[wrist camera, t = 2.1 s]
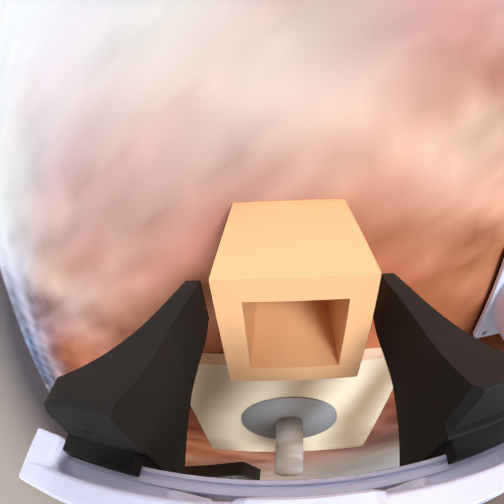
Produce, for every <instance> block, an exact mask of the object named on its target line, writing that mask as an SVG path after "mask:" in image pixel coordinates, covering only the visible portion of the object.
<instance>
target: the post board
mask: <svg viewBox="0 0 504 504" xmlns="http://www.w3.org/2000/svg"><path fill="white" fill-rule="evenodd" d="M392 389H393V385H392V381H391V377H390V373H389V370H388V367H387V364H386V361H385V358H384V355H383V352H382V349H381V347H378V348H368V349H365V350H364V354H363V357H362V361H361V365H360V368H359V372H358V375H357V376H356V377H345V378H333V379H317V380H294V381H231V380H230V376H229V372H228V367H227V363H226V359H225V354H220V353H202V356H201V360H200V363H199V367H198V371H197V374H196V378H195V382H194V386H193V390H192V396H191V403H190V405H191V407H192V409H193V411H194V413H195V415H196V417H197V419H198V421H199V423H200V425H201V427H202V429H203V431H204V433H205V435H206V437H207V439H208V441H209V443H210V444H211V446H212V448H213V449H217V450H231V451H254V452H275V472H274V473H275V474H276V475H280V476H295V475H300V474H302V473H303V472H304V471H303V451H314V450H328V449H339V448H348V447H357V446H362V445H363V444H364V442H365V440H366V439H367V437H368V435H369V433H370V432H371V430H372V428H373V426H374V424H375V422H376V421H377V419H378V417H379V415H380V413H381V411H382V409H383V407H384V405H385V403H386V401H387V399H388V397H389V395H390V393H391V391H392Z"/></svg>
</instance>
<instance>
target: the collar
mask: <svg viewBox="0 0 504 504" xmlns="http://www.w3.org/2000/svg"><path fill="white" fill-rule="evenodd" d="M381 275H382V273H381V271H380V269H379V267H378V265H377V262H376V260H375V258H374V256H373V254H372V252H371V250H370V248H369V246H368V244H367V242H366V240H365V238H364V236H363V234H362V232H361V230H360V228H359V226H358V224H357V222H356V220H355V219H354V217H353V215H352V213H351V211H350V209H349V207H348V205H347V204H346V202H345V200H344V199H318V200H285V201H261V202H241V203H233V204H232V207H231V210H230V213H229V216H228V219H227V223H226V226H225V229H224V232H223V235H222V238H221V241H220V244H219V248H218V251H217V254H216V257H215V260H214V264H213V267H212V270H211V273H210V277H209V284H210V289H211V294H212V299H213V304H214V309H215V313H216V318H217V323H218V327H219V332H220V337H221V341H222V346H223V350H224V354H225V359H226V363H227V367H228V372H229V376H230V380H231V381H294V380H317V379H333V378H345V377H356V376H357V375H358V372H359V368H360V365H361V361H362V357H363V354H364V350H365V346H366V342H367V339H368V335H369V331H370V326H371V322H372V318H373V314H374V309H375V305H376V300H377V295H378V290H379V285H380V280H381Z"/></svg>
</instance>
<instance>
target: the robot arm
mask: <svg viewBox="0 0 504 504" xmlns="http://www.w3.org/2000/svg"><path fill="white" fill-rule="evenodd" d="M373 319H374V324H375V329H376V333H377V336H378V339H379V342H380V346H381V349H382V352H383V355H384V358H385V361H386V364H387V367H388V370H389V373H390V377H391V381H392V385H393V390H394V396H395V402H396V410H397V418H398V429H399V445H400V467H396V468H391V469H386V470H381V471H375V472H369V473H363V474H356V475H349V476H341V477H331V478H320V479H305V480H238V479H224V478H212V477H203V476H195V475H187V474H185V454H186V440H187V428H188V419H189V410H190V403H191V396H192V390H193V386H194V382H195V378H196V374H197V371H198V367H199V363H200V360H201V356H202V352H203V348H204V345H205V341H206V335H207V328H208V320H209V317H208V313H207V309H206V304H205V300H204V295H203V291H202V286H201V282H200V281H185V282H184V283H183V285H182V286H181V287H180V288H179V289H178V290H177V291H176V292H175V293H174V294H173V295H172V296H171V297H170V299H169V300H168V301H167V302H166V303H165V304H164V305H163V306H162V307H161V308H160V309H159V310H158V311H157V312H156V313H155V314H154V315H153V316H152V317H151V318H150V319H149V320H148V321H147V322H146V323H145V324H144V325H143V326H142V327H140V328H139V329H138V330H137V331H136V332H135V333H133V334H132V335H131V336H130V337H128V338H127V339H126V340H125V341H123V342H122V343H121V344H119V345H118V346H116V347H115V348H113V349H112V350H110V351H109V352H107V353H106V354H104V355H103V356H101V357H99V358H97V359H96V360H94V361H92V362H90V363H88V364H87V365H85V366H83V367H81V368H79V369H76V370H74V371H72V372H70V373H67V374H65V375H63V376H60V377H58V378H57V379H56V381H55V383H54V385H53V387H52V389H51V391H50V393H49V395H48V397H47V399H46V401H45V404H44V405H45V409H46V411H47V412H48V414H49V415H50V416H51V417H52V418H53V419H54V420H55V421H56V422H57V423H58V424H59V425H60V426H61V427H62V428H63V429H64V430H65V431H66V432H67V433H68V436H67V439H64V438H63V437H61V436H58V435H56V434H54V433H51V432H49V431H46V430H43V429H41V428H39V429H38V431H37V433H36V435H35V438H34V440H33V442H32V444H31V447H30V449H29V451H28V454H27V456H26V459H25V461H24V464H23V467H22V469H21V472H20V474H19V477H20V479H22V480H24V481H25V482H27V483H29V484H30V485H32V486H34V487H35V488H37V489H39V490H41V491H43V492H44V493H46V494H48V495H50V496H51V497H53V498H55V499H57V500H59V501H61V502H64V503H66V504H482V503H484V502H486V501H488V500H490V499H492V498H494V497H496V496H498V495H500V494H502V493H503V492H504V352H502V351H500V350H498V349H496V348H494V347H491V346H489V345H487V344H485V343H484V342H482V341H480V340H478V339H476V338H480V337H485V336H489V335H494V334H498V333H500V335H501V337H502V339H503V340H504V258H503V261H502V264H501V267H500V270H499V273H498V275H497V278H496V281H495V283H494V286H493V288H492V291H491V293H490V296H489V298H488V301H487V303H486V305H485V308H484V310H483V312H482V314H481V316H480V319H479V321H478V323H477V325H476V327H475V329H474V331H473V336H474V337H473V336H471V335H469V334H468V333H466V332H465V331H463V330H462V329H460V328H459V327H457V326H456V325H454V324H453V323H452V322H450V321H449V320H447V319H446V318H445V317H443V316H442V315H441V314H440V313H439V312H437V311H436V310H435V309H434V308H432V307H431V306H430V305H429V304H428V303H427V302H425V301H424V300H423V299H422V298H421V297H420V296H419V295H418V294H416V293H415V292H414V291H413V290H412V289H411V288H410V287H409V286H408V285H407V284H405V283H404V282H403V281H402V280H401V279H400V278H399V277H398V276H396V275H395V274H394V273H389V274H382V275H381V280H380V285H379V290H378V295H377V300H376V305H375V309H374V314H373ZM211 499H220V500H230V501H233V502H216V501H212V500H211Z"/></svg>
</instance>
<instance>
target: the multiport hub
mask: <svg viewBox="0 0 504 504" xmlns="http://www.w3.org/2000/svg"><path fill="white" fill-rule="evenodd" d="M185 474H187V475H195V476H203V477H212V478H224V479H238V480H260V469H258V468H256V467H253V466H251V465H249V464H247V463H245V462H236V463H227V464H217V465H205V466H188V467H185Z"/></svg>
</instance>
